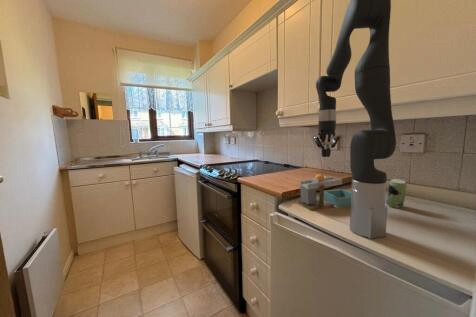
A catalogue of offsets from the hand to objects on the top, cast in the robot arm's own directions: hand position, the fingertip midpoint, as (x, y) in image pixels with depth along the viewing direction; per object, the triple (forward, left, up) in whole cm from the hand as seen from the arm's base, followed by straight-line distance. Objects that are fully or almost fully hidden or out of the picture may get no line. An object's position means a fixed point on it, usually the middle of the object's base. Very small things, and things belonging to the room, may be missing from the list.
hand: (325, 156), depth 96 cm
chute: (-3, +6, -19) cm, 20 cm away
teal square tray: (-6, -4, -21) cm, 22 cm away
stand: (-6, +9, -21) cm, 24 cm away
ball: (-6, +7, -9) cm, 13 cm away
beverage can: (-18, -22, -21) cm, 35 cm away
